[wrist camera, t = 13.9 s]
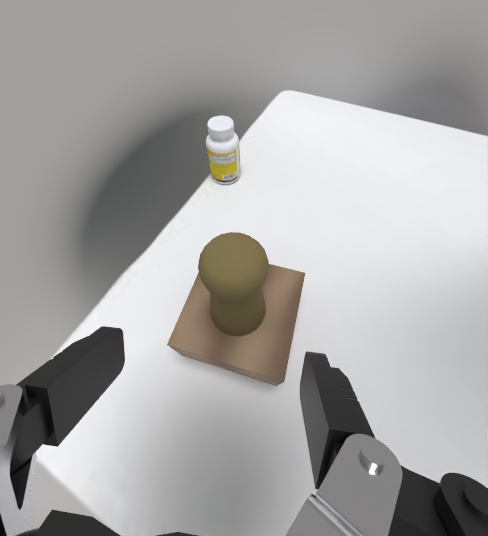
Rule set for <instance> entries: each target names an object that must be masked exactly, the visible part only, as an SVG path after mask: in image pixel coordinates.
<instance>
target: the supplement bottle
mask: <svg viewBox="0 0 488 536" xmlns="http://www.w3.org/2000/svg"><path fill="white" fill-rule="evenodd" d="M208 132H209V135H208V136H207V139H206V146H207V152H208V158H209V164H210V169H211V175H212V178H213V180H214V181H216V182H217V183H219V184H225V185H227V184H232V183H234V182H235V181H237V180H238V179H239V177H240V154H239V139H238V137H237V135H236V133H235V132H234V125H233V120H232V119H231V118H229V117H227V116H216V117H213V118H211V119H210V120H209V121H208Z"/></svg>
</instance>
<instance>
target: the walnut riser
mask: <svg viewBox="0 0 488 536" xmlns="http://www.w3.org/2000/svg"><path fill="white" fill-rule="evenodd" d="M304 276H305V273H303V272H299V271H295V270H291V269H287V268H283V267H279V266H275V265H270V264H268V275H267V277H266V280H265V283H264V285H263V286H262V289H263V294H264V299H265V305H266V314H265V317H264V320H263V322H262V324H261V325H260V326H259V327H258V329H257V330H255V331H253V332H252V333H250V334H248V335H244V336H230V335H228V334H225V333H223V332H222V331H220V330H219V329H218V328H217V327H216V326H215V324H214V322H213V321H212V318H211V313H210V291H208V290H207V289H206V287H205V286H204V284H203V282H202V281H201V278H200V274H199V273H198V275H197V278H196V280H195V282H194V285H193V287H192V289H191V291H190V294H189V296H188V298H187V301H186V303H185V305H184V307H183V310H182V312H181V314H180V317H179V319H178V321H177V323H176V326H175V328H174V330H173V333H172V335H171V337H170V339H169V342H168V344H167V345H168V346H170V347H171V348H173V349H174V350H175V351H177V352H178V353H180V354H181V355H183V356H187V357H190V358H193V359H196V360H199V361H202V362H205V363H208V364H211V365H215V366H218V367H221V368H224V369H227V370H230V371H233V372H236V373H239V374H243V375H246V376H249V377H252V378H255V379H258V380H261V381H264V382H267V383H271V384H274V385H279V384H281V383H283V382H284V379H285V374H286V368H287V363H288V358H289V353H290V348H291V343H292V338H293V333H294V327H295V322H296V317H297V312H298V307H299V302H300V297H301V292H302V286H303V281H304Z"/></svg>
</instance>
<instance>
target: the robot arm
mask: <svg viewBox="0 0 488 536" xmlns="http://www.w3.org/2000/svg"><path fill="white" fill-rule="evenodd" d="M124 362H125V354H124V340H123V331H122V329H120V328H112V327H104V326H103V327H100V328H99V329H98V330H96V331H95V332H94V333H92V334H91V335H90V336H87V337H85V338H83V339H81V340H78V341H76V342H74V343H72V344H71V345H70V346H68V347H67V348H66V349H64V350H63V351H62V352H60V353H59V354H57V355H56V356H55V357H53V359H51V360H49V361H48V362H46V363H45V364H44V365H42V366H41V367H40V368H38V369H37V370H36V371H34V372H33V373H31V374H30V375H29V376H27V377H26V378H25V379H23V380H22V381H21V382H20V383H18V384H16V385H2V386H0V536H120V535H119V534H117V533H116V532H114V531H113V530H111V529H110V528H108V527H107V526H105V525H104V524H102V523H101V522H99V521H98V520H96V519H95V518H93V517H90V516H85V515H79V514H73V513H67V512H61V511H56V510H52V511H51V512H50V514H49V515H48V516H47V518H46V519H45V521H44V522H43V524H42V525H41V526H40V528H37V529H33V530H30V531H26V532H25V522H26V514H27V509H28V503H29V498H30V492H31V487H32V481H33V476H34V470H35V465H36V459H37V456H36V451H37V450H38V449H39V448H40V446H41V445H42V444H45V445H51V446H57V447H58V446H59V444H60V443H61V442H62V441H63V440H64V439H65V437H66V436H67V435H68V434H69V433H70V432H71V430H72V429H73V428H74V427H75V426H76V424H77V423H78V422H79V421H80V420H81V419H82V417H83V416H84V415H85V414H86V413H87V412H88V410H89V409H90V408H91V407H92V406H93V405H94V403H95V402H96V401H97V400H98V399H99V397H100V396H101V395H102V394H103V393H104V392H105V390H106V389H107V388H108V387H109V386H110V385H111V383H112V382H113V381H114V380H115V379H116V378H117V376H118V375H119V374H120V373H121V371H122V369H123V366H124ZM300 400H301V406H302V412H303V418H304V424H305V430H306V435H307V441H308V447H309V453H310V459H311V465H312V471H313V477H314V483H315V489H319V490H318V491H317V493H316V494H315V496H314V495H313V494H311V495H310V496H309V497H308V499H307V500H306V502H305V503H304V505H303V507H302V509H301V510H300V512H299V514H298V516H297V517H296V519H295V521H294V523H293V524H292V526H291V528H290V530H289V531H288V533H287V535H286V536H488V488H486V487H485V486H483V485H482V484H480V483H479V482H477V481H475V480H474V479H472V478H470V477H467V476H465V475H462V474H458V473H447V474H445V475H444V476H443V477H442V479H441V481H440V483H437V482H435V481H433V480H430V479H428V478H426V477H424V476H421V475H419V474H417V473H414V472H412V471H410V470H408V469H406V468H404V467H403V466H401V465H400V464H399V461H398V460H397V458H396V457H395V455H394V454H393V453H392V452H391V450H390V449H389V448H388V447H386V446H385V445H384V444H383V443H381V442H380V441H378V440H377V439H375V436H374V434H373V432H372V430H371V428H370V425H369V423H368V421H367V419H366V417H365V415H364V412H363V410H362V408H361V406H360V404H359V401H357V397H356V395H355V393H354V391H353V388H352V386H351V384H350V382H349V380H348V378H347V377H346V376H345V375H344V374H343V373H342V372H341V370H340V369H339V368H332V367H330V364H329V362H328V359H327V357H326V355H325V354H323V353H315V352H306V354H305V358H304V364H303V370H302V376H301V382H300ZM157 536H197V535H192V534H186V533H180V532H175V533H169V534H163V535H157Z"/></svg>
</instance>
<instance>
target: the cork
mask: <svg viewBox="0 0 488 536" xmlns="http://www.w3.org/2000/svg"><path fill="white" fill-rule="evenodd" d="M198 269H199V274H200V278H201V281H202V282H203V284H204V286H205V287H206V289H207V290H208V291H210V313H211V318H212V321H213V322H214V324H215V326H216V327H217V328H218V329H219V330H220V331H222V332H223V333H225V334H228V335H230V336H244V335H248V334H250V333H252V332H253V331H255V330H257V329H258V327H259V326H260V325H261V324H262V322H263V320H264V317H265V314H266V305H265V299H264V294H263V289H262V286H263V285H264V283H265V280H266V277H267V275H268V259H267V256H266V253H265V250H264V248H263V247H262V246H261V245H260V243H259V242H258V241H256V240H255V239H253V238H251V237H250V236H248V235H245V234H242V233H232V232H230V233H226V234H221V235H219V236H217V237H215V238H214V239H212V240H211V241H210V242H209V243H208V244H207V245H206V246H205V247H204V249H203V251H202V253H201V254H200V259H199V265H198Z"/></svg>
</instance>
